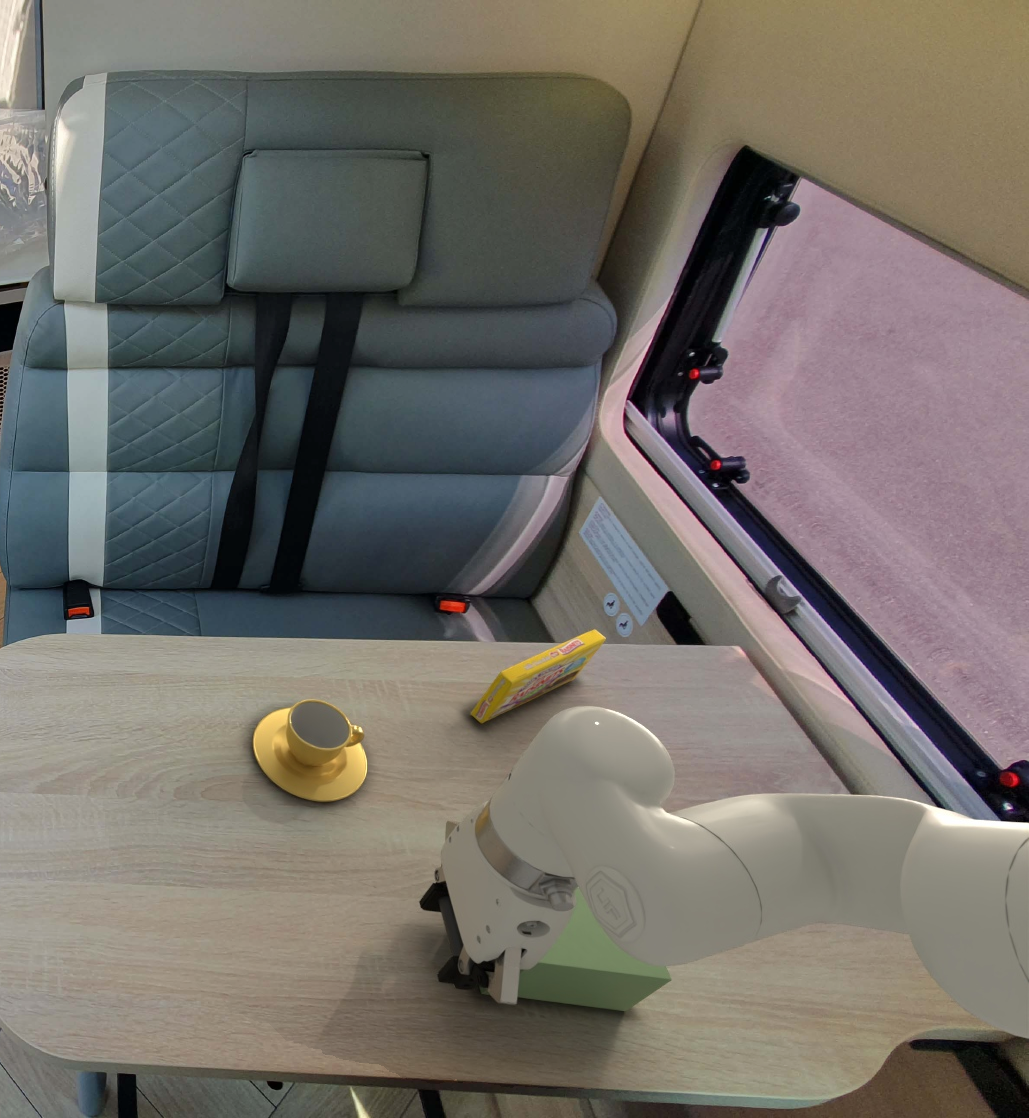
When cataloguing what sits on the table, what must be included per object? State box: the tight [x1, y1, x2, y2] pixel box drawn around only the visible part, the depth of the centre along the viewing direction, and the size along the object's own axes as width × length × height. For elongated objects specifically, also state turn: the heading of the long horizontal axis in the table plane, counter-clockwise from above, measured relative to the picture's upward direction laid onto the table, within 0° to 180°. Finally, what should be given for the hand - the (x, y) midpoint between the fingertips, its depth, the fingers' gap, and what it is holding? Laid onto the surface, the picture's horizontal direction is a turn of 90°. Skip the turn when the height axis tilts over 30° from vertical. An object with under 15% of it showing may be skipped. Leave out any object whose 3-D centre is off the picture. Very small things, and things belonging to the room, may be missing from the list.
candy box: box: [470, 628, 607, 724], centre depth 91 cm, size 15×2×8 cm, turn 116°
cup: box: [252, 698, 368, 803], centre depth 85 cm, size 12×12×5 cm
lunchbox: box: [438, 887, 673, 1012], centre depth 69 cm, size 7×8×15 cm
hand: (446, 942), depth 71 cm, fingers closed on lunchbox, 5 cm apart
